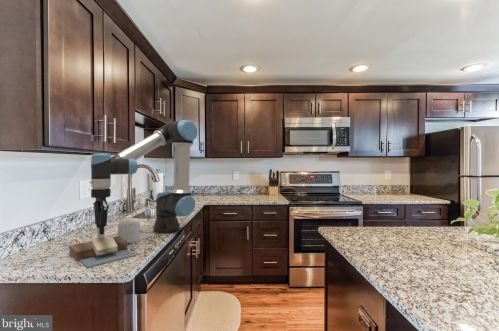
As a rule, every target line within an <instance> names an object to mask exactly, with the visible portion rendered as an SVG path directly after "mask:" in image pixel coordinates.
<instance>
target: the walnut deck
mask: <svg viewBox="0 0 499 331" xmlns="http://www.w3.org/2000/svg"><path fill="white" fill-rule="evenodd" d="M112 237H113V239H114V240H115V242H116V244H117V245H118V249H117V251H115V252H118V251H122V250H127V251H128V243H127V241H125V240H123V239H122V238H120V237H118V235H117V236H112ZM91 242H92V240H91V241H85V242H79V243H75V244H70V245H69V248H68V250H69V253H68V254H69V255H70V257H72V258H73V260H75V262H80V260H83V259H87V258H91V257H96V256H100V255H96V253H95V251H94V249H93V247H92V245H91ZM110 253H113V252H110ZM106 254H109V253H106ZM101 255H104V254H101Z"/></svg>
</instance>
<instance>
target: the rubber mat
mask: <svg viewBox="0 0 499 331" xmlns="http://www.w3.org/2000/svg"><path fill="white" fill-rule="evenodd" d="M133 257H136V256H135V254H133V253H132V252H130V251H128V249H127V250H122V251H118V252H113V253H109V254H104V255H100V256H96V257H91V258H87V259H83V260H80V261H79V262H80V263H82V265H83V266H85V267H86V268H87V269H89V268H93V267H97V266H101V265H105V264H110V263H113V262H116V261H117V262H119V261H121V260H125V259H129V258H133Z"/></svg>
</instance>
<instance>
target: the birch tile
mask: <svg viewBox="0 0 499 331" xmlns="http://www.w3.org/2000/svg"><path fill="white" fill-rule="evenodd" d="M113 237H114V236H112V235H109V236H105V237H104V238H98V239H97V238H93V239H91V241H92V242H91V245H92V247H93V249H94V251H95V253H96V255H101V254H106V253H110V252H115V251H117V249H118V245H117V244H116V242H115V240H114V239H113Z"/></svg>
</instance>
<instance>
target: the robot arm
mask: <svg viewBox="0 0 499 331" xmlns="http://www.w3.org/2000/svg"><path fill="white" fill-rule="evenodd" d="M197 136H198V128H197V125H195V123H194V122H193V121H191V120H189V119H181V120H177V121H171V122H168V123H166V124H164V125H162V126H160V127H159V128H158V129H156V130H154V131H153V133H152V134H150V135H148V136H147V137H145V138H143V139H142V140H140V141H138V142H136V143H135V144H133V145H131V146H129V147H126V148H125V149H124V150H122V151H120V152H118V153H117V154H114V155H113V156H111V153H95V152H94V153H93V154H91V159H90V169H91V170H90V171H91V172H90V174H91V177H90V180H91V181H89V184H90V185H91V186H90V187H91V188H92V189H90V196H91V198H92V199H95V201H94V202H93V208H94V209H93V211H94V212H93V213H94V224H95V226H96V239H98V238H104V237H106V236H105V235H106V232H105V231H106V228H105V227H106V226H107V225H108V214H109V208H110V205H109V204H108V201H107V198H110V197H111V187H112V186H111V184H112V183H111V182H112V181H111V180H112V177H111V175H134V174H136V173H137V171H138V161H137V160H138V159H140V158H143V156H145V155H147V154H149V153H150V152H152V151H154V150H155V149H157V148H159V147H160V146H165V145H168V144H169V143H171V144H172V146H173V147H174V155H173V156H174V158H173V159H174V160H173V161H174V162H173V184H172V185H173V189H172V190H171V191H165V192H164V191H163V192H158V193H157V194H156V197H155V203H156V205H155V206H156V207H155V208H156V212H155V213H156V214H155V217H156V218H155V221H154V223H153V227H152V229H153V230H152V231H153V232H154V233H156V234H169V233H170V232H171V233H175V232H178V231H180V223H179V220H178V217H188V216H189V215H191V214H192V213H193V212H194V210H195V207H196V201H195V199H194V197H193V196H192V191H191V190H190V166H191V165H190V164H191V160H190V158H191V147H192V146H193V145H194V140H195V139H196V138H197Z"/></svg>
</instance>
